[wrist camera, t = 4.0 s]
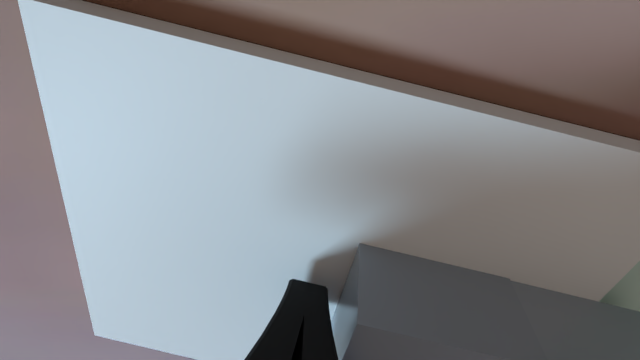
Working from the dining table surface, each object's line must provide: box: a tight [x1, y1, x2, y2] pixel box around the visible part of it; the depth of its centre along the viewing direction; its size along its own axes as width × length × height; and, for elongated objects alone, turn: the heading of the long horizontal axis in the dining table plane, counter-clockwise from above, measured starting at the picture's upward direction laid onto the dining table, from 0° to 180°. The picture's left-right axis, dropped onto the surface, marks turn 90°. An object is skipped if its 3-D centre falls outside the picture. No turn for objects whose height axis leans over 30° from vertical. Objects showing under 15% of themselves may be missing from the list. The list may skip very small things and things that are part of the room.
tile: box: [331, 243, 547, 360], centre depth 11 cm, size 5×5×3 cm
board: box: [18, 0, 640, 360], centre depth 13 cm, size 14×18×1 cm
